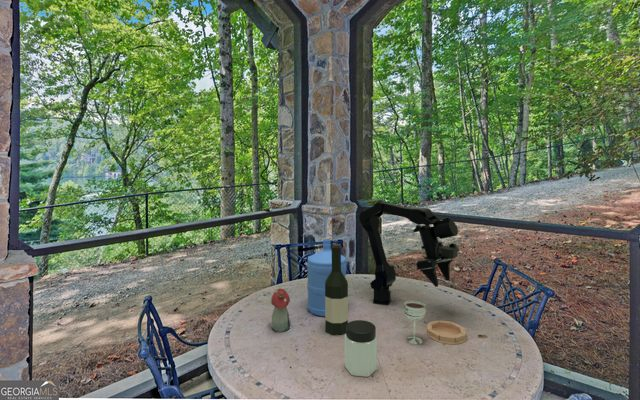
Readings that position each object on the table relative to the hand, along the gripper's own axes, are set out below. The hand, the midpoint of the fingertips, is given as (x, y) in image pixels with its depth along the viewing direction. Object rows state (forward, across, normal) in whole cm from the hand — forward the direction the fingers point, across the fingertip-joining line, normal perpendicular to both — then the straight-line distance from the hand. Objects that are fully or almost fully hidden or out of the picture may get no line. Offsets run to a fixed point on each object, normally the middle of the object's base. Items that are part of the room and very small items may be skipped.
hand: (442, 283), depth 119 cm
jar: (+13, -44, +7) cm, 46 cm away
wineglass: (+14, -20, +5) cm, 24 cm away
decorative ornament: (+1, -45, +40) cm, 60 cm away
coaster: (+15, -9, -1) cm, 18 cm away
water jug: (+1, -22, +40) cm, 46 cm away
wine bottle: (+6, -32, +26) cm, 42 cm away
